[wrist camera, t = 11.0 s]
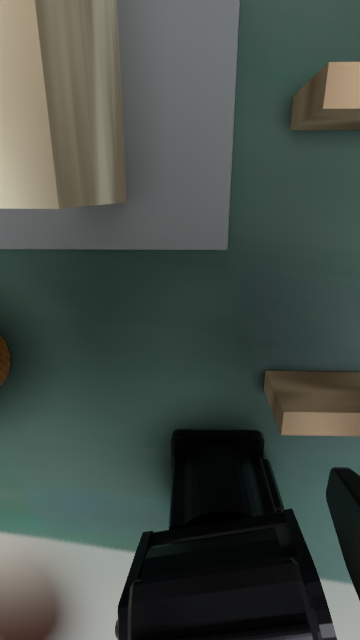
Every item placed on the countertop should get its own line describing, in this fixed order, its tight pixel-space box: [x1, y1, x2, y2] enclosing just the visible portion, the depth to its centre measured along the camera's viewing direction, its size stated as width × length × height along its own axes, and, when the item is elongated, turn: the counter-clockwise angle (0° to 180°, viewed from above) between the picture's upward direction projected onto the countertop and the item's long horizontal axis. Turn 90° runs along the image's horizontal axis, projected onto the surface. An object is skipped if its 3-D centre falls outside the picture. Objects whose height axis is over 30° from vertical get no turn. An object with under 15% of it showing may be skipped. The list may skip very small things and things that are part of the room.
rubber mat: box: [0, 0, 240, 250], centre depth 16 cm, size 14×16×1 cm
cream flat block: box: [0, 0, 127, 209], centre depth 11 cm, size 3×11×10 cm, turn 0°
